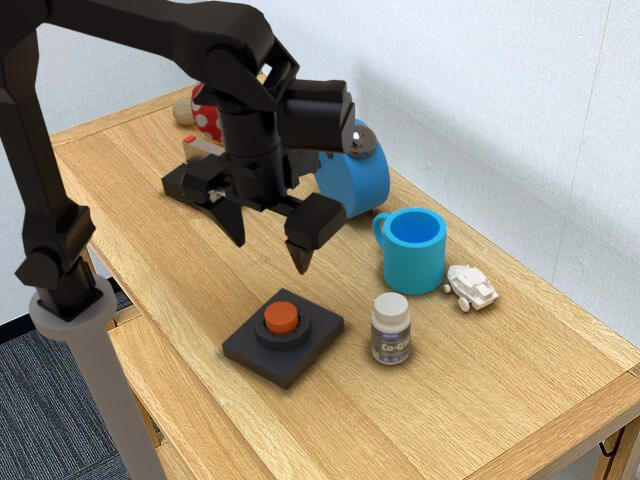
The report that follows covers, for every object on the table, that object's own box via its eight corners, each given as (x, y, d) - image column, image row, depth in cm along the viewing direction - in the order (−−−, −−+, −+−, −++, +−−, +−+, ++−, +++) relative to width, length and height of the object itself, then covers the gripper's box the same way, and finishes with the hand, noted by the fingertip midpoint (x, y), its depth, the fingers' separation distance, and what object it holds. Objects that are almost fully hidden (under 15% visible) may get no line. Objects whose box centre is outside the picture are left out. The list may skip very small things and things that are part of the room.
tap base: (270, 183, 118) (268, 166, 116) (218, 225, 112) (214, 208, 109) (212, 159, 123) (209, 142, 121) (159, 198, 116) (154, 181, 114)
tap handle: (236, 179, 114) (230, 149, 110) (227, 186, 113) (221, 156, 109) (197, 163, 117) (190, 133, 113) (188, 169, 116) (181, 139, 112)
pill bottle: (382, 371, 92) (381, 323, 85) (365, 345, 95) (363, 297, 88) (416, 357, 93) (418, 309, 87) (398, 332, 96) (399, 284, 89)
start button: (284, 339, 91) (283, 329, 90) (259, 326, 93) (257, 316, 91) (304, 319, 93) (303, 309, 92) (279, 306, 95) (278, 296, 93)
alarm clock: (391, 221, 111) (392, 131, 99) (356, 237, 108) (352, 147, 97) (344, 178, 118) (339, 90, 107) (310, 192, 116) (302, 103, 105)
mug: (456, 274, 102) (460, 227, 96) (412, 303, 99) (414, 256, 93) (395, 233, 109) (396, 186, 103) (352, 259, 105) (350, 212, 99)
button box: (286, 390, 90) (283, 368, 87) (224, 355, 94) (218, 334, 91) (344, 329, 97) (343, 307, 94) (283, 299, 101) (280, 277, 98)
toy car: (471, 320, 97) (474, 297, 94) (435, 284, 101) (436, 261, 98) (501, 305, 98) (504, 282, 95) (463, 270, 103) (466, 247, 100)
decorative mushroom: (149, 73, 125) (210, 63, 116) (201, 83, 134) (261, 74, 124) (151, 142, 127) (211, 137, 118) (202, 148, 135) (262, 144, 126)
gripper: (373, 128, 76) (377, 246, 88) (232, 82, 84) (253, 197, 96) (308, 185, 70) (321, 304, 82) (163, 130, 78) (194, 246, 90)
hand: (272, 258), depth 87 cm, fingers open, 9 cm apart
